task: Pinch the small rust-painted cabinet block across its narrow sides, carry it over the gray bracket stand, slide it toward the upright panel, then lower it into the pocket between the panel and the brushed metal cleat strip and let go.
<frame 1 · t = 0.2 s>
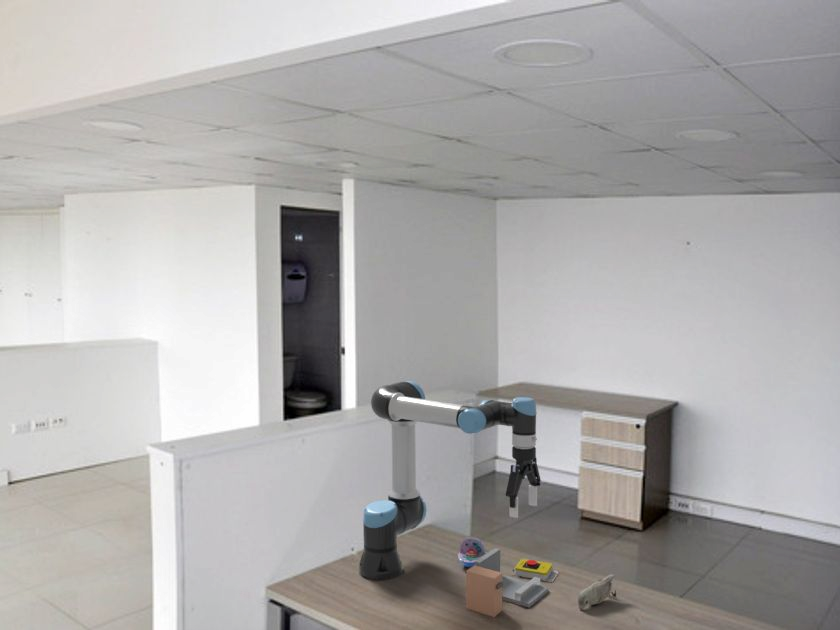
hand: (523, 511, 236), 27 cm above the table, tool pointing down, fingers open, 13 cm apart
cabinet block: (483, 609, 227), on the table
cell model: (472, 566, 260), on the table
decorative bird: (596, 604, 231), on the table
emergency button: (534, 575, 253), on the table
gray bracket stand: (511, 591, 239), on the table
cleat strip: (527, 596, 236), resting on gray bracket stand
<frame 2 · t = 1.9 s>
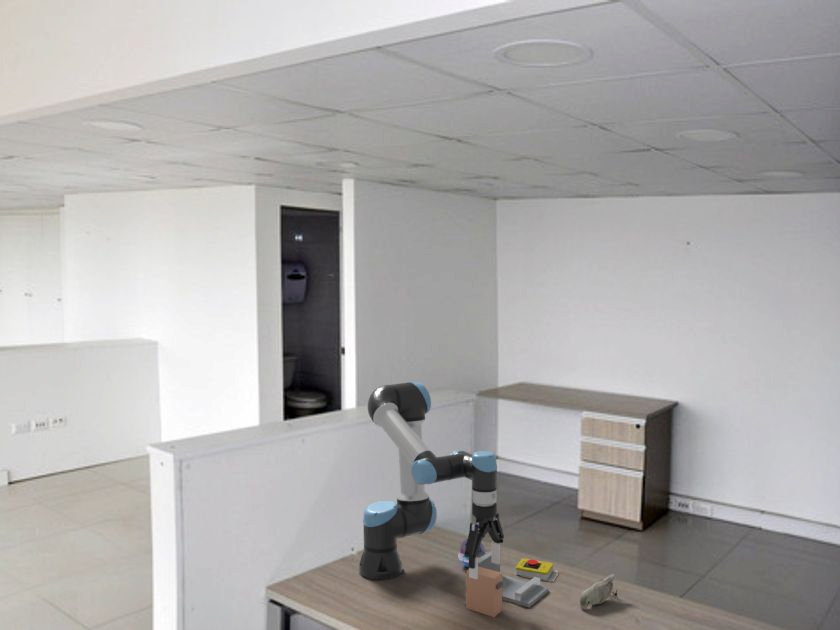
hand: (484, 570, 226), 13 cm above the table, tool pointing down, fingers open, 13 cm apart
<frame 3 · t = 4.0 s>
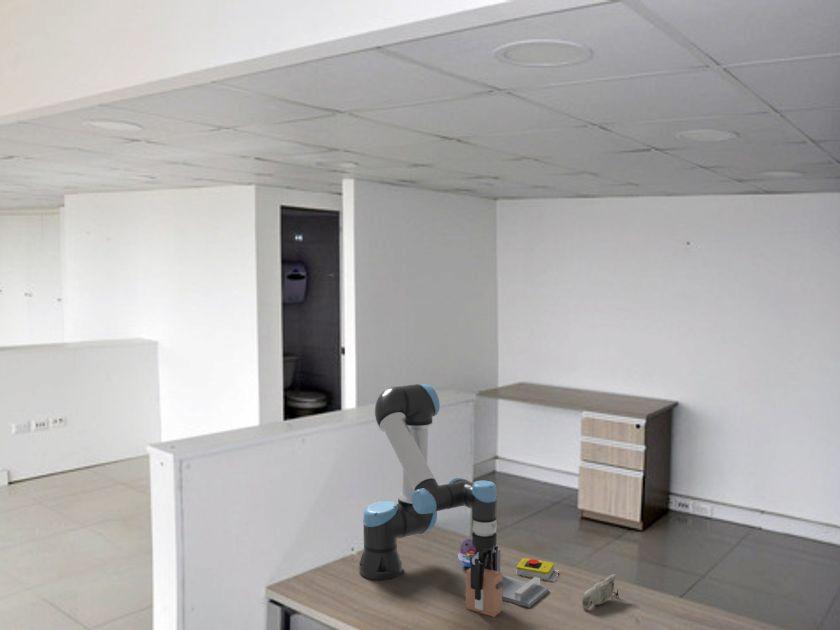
hand: (483, 605, 227), 1 cm above the table, tool pointing down, fingers closed on cabinet block, 5 cm apart
cabinet block: (483, 609, 227), on the table, touching gripper
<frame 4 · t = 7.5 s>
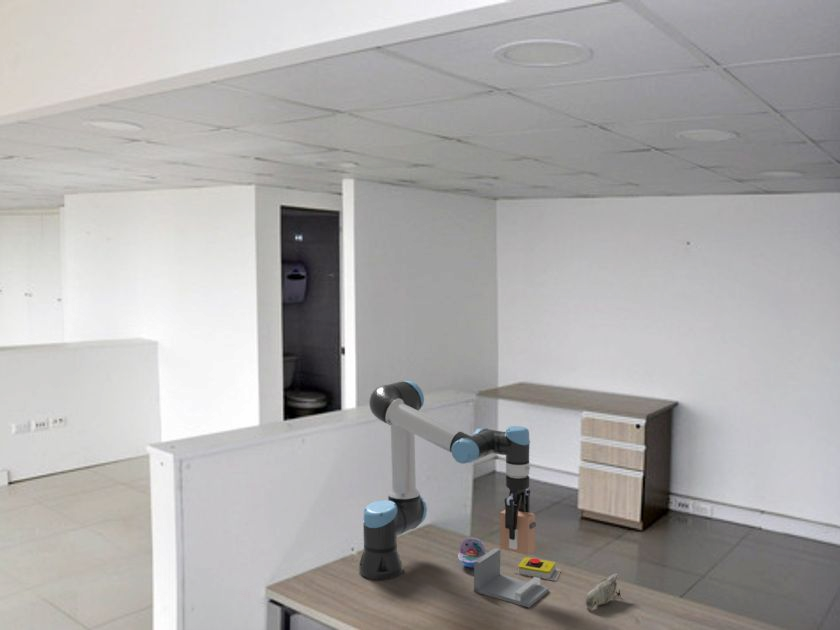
hand: (517, 545, 237), 16 cm above the table, tool pointing down, fingers closed on cabinet block, 5 cm apart
cabinet block: (517, 549, 237), point 15 cm above the table, touching gripper
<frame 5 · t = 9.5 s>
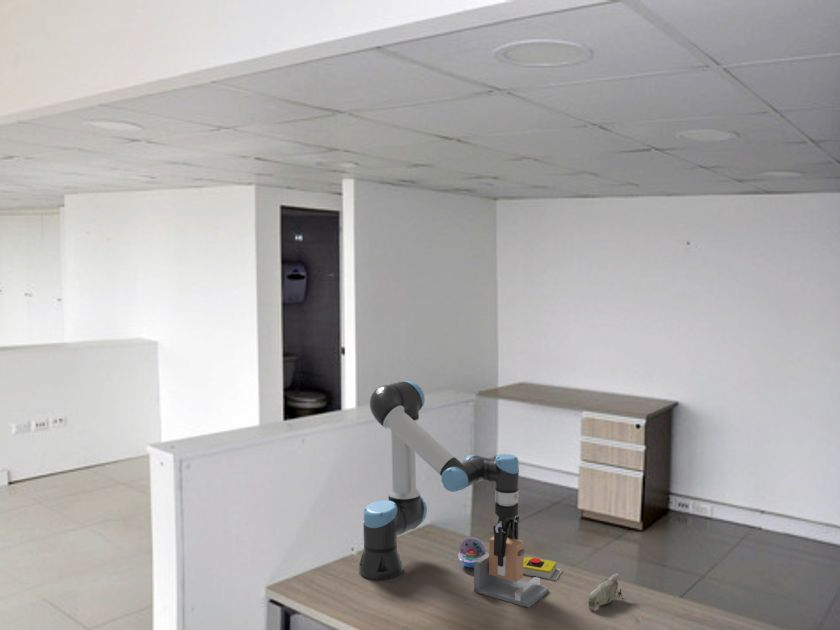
hand: (505, 571, 240), 6 cm above the table, tool pointing down, fingers closed on cabinet block, 5 cm apart
cabinet block: (506, 575, 240), point 5 cm above the table, touching gripper
when the fingers open (4 cm above the table, at t = 11.0 s): cabinet block drops 1 cm, resting on gray bracket stand.
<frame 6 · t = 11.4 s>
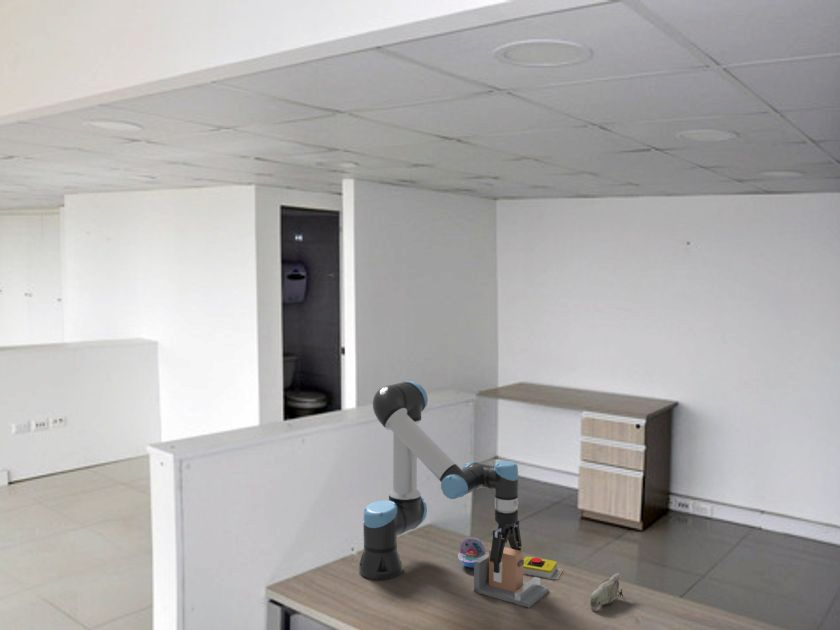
hand: (505, 575, 240), 5 cm above the table, tool pointing down, fingers open, 10 cm apart
cabinet block: (505, 586, 241), point 1 cm above the table, touching gray bracket stand
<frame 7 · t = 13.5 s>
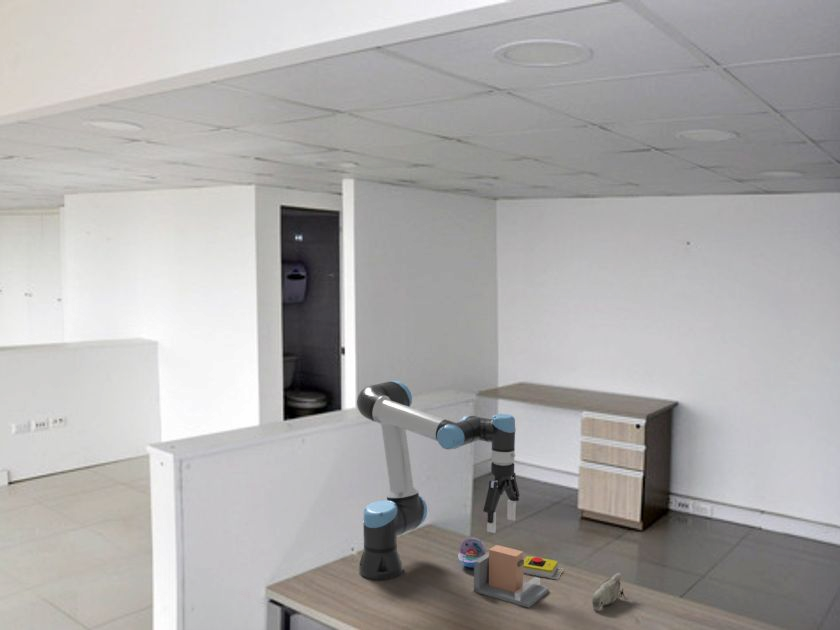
hand: (501, 525, 240), 21 cm above the table, tool pointing down, fingers open, 13 cm apart
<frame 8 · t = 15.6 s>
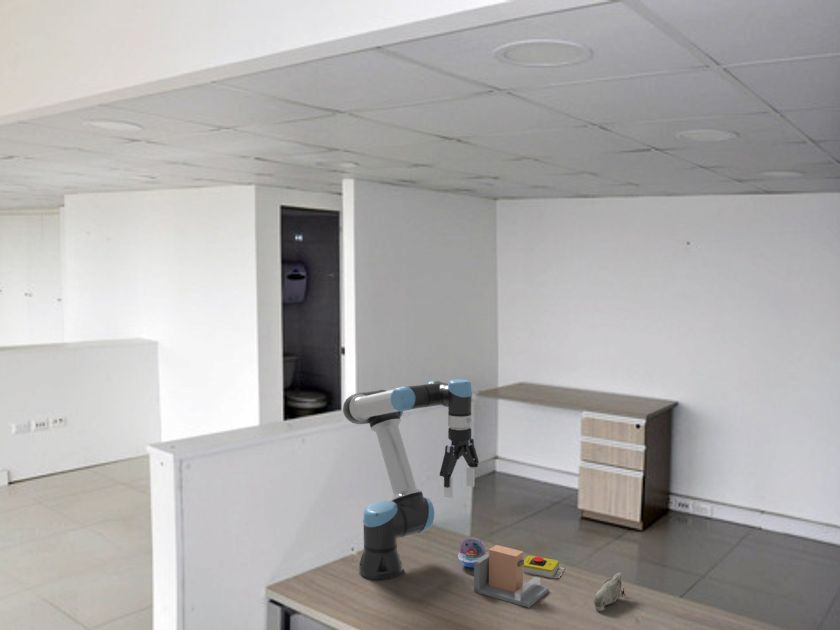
hand: (459, 491, 239), 33 cm above the table, tool pointing down, fingers open, 13 cm apart
at the end: cabinet block inside the target area on the gray bracket stand (0.8 cm from its centre), point 1.2 cm above the gray bracket stand's base; cabinet block tilted 0°; the gripper is holding nothing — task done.
